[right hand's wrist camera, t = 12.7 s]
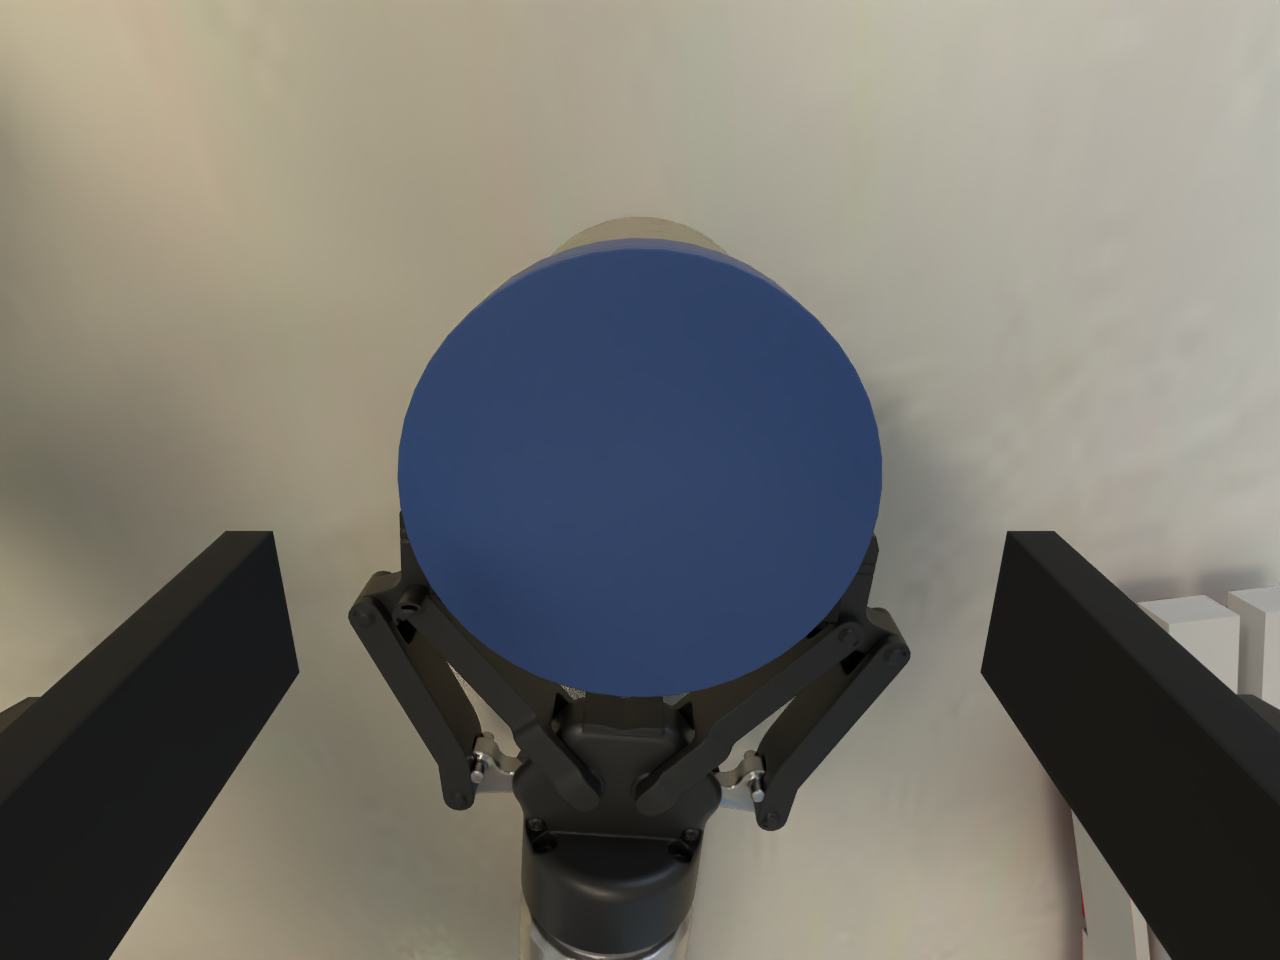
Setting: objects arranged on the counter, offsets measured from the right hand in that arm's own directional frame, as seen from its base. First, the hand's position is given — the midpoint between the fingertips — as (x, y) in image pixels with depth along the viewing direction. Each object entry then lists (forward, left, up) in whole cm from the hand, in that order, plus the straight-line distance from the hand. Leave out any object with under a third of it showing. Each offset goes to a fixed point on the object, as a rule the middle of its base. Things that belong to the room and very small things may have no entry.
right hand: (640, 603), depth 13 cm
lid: (0, 0, -5) cm, 5 cm away
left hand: (+1, -1, -14) cm, 14 cm away
